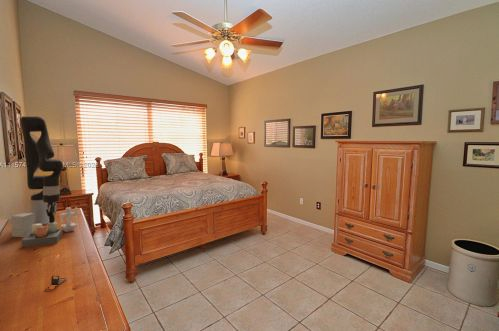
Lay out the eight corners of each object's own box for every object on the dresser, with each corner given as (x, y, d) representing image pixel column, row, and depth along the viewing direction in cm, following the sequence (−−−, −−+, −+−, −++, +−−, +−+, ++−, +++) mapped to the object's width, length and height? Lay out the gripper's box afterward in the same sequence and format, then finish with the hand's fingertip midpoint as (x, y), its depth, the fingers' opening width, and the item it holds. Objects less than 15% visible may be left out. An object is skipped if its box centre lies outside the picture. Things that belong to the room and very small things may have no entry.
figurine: (58, 230, 154) (58, 207, 153) (76, 227, 160) (76, 205, 159) (60, 233, 149) (60, 209, 148) (78, 230, 155) (78, 207, 154)
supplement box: (35, 233, 147) (34, 213, 146) (22, 237, 140) (22, 216, 139) (24, 232, 148) (24, 212, 147) (11, 236, 141) (10, 215, 140)
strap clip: (60, 279, 100) (60, 269, 100) (67, 280, 100) (67, 270, 100) (42, 291, 91) (42, 281, 91) (50, 292, 91) (50, 281, 91)
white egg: (33, 234, 138) (33, 223, 138) (43, 233, 141) (42, 223, 140) (30, 236, 135) (30, 226, 134) (40, 235, 137) (40, 225, 136)
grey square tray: (30, 238, 139) (30, 231, 139) (62, 234, 147) (62, 228, 146) (21, 247, 127) (21, 240, 127) (57, 243, 134) (57, 236, 134)
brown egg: (38, 236, 135) (37, 226, 134) (48, 235, 137) (47, 225, 136) (35, 239, 131) (35, 228, 130) (45, 238, 133) (45, 227, 133)
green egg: (48, 232, 142) (48, 222, 141) (58, 231, 144) (57, 221, 143) (46, 234, 138) (46, 224, 138) (56, 233, 140) (56, 223, 140)
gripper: (46, 191, 143) (46, 220, 144) (39, 195, 132) (40, 226, 133) (61, 191, 147) (62, 218, 148) (57, 195, 135) (57, 225, 136)
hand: (51, 222), depth 140 cm, fingers closed
